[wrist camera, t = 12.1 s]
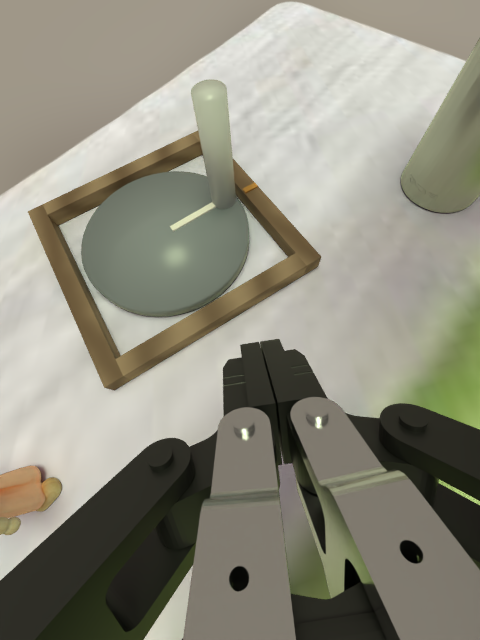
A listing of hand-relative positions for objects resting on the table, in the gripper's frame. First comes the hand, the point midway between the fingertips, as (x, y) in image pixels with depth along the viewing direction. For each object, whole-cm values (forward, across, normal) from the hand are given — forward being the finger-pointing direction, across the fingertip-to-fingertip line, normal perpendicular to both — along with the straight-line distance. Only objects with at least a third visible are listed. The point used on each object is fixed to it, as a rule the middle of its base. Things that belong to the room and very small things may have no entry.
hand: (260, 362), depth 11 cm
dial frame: (+27, +8, -2) cm, 28 cm away
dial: (+27, +8, -2) cm, 28 cm away
